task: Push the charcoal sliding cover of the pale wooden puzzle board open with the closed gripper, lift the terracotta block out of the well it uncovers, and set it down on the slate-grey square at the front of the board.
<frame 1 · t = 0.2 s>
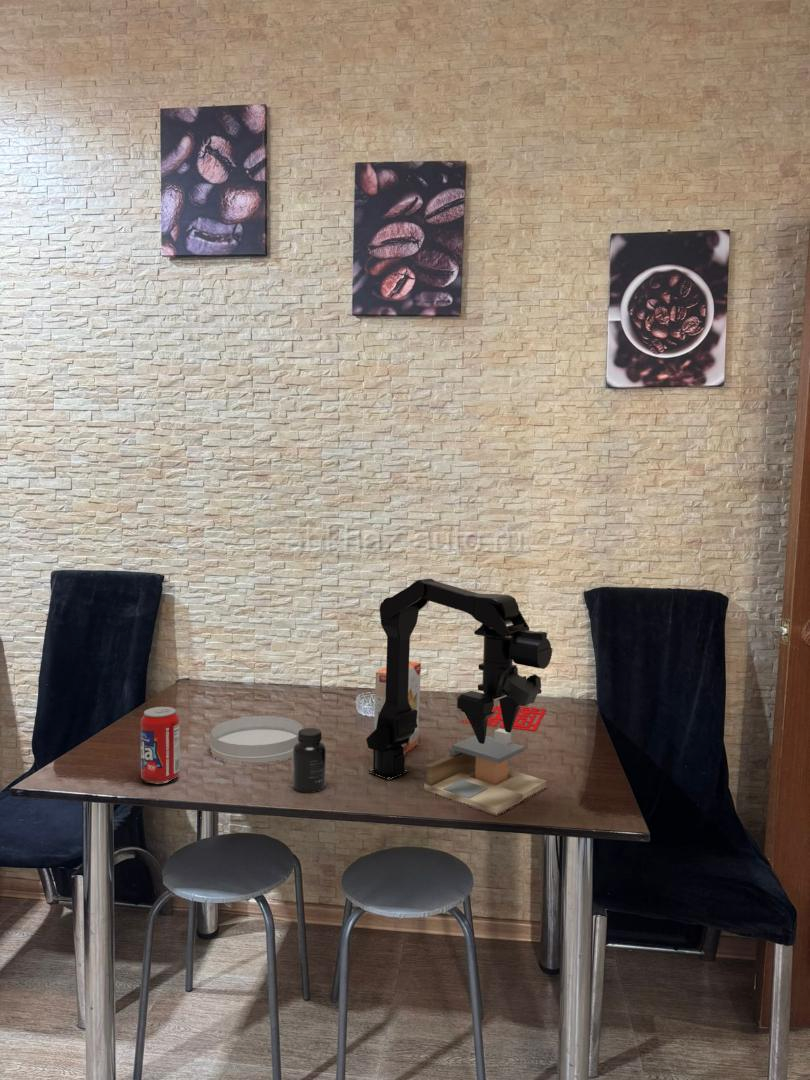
hand: (495, 737, 149), 14 cm above the table, tool pointing down, fingers open, 9 cm apart
dish: (257, 750, 181), on the table
cracker box: (397, 753, 180), on the table
maze puzzle: (504, 718, 210), on the table
puzzle board: (485, 789, 159), on the table
block: (491, 783, 162), resting in puzzle board
soda can: (160, 780, 161), on the table
sliding cover: (487, 744, 163), point 8 cm above the table, slide at 0.0 cm
supplement bottle: (309, 787, 159), on the table
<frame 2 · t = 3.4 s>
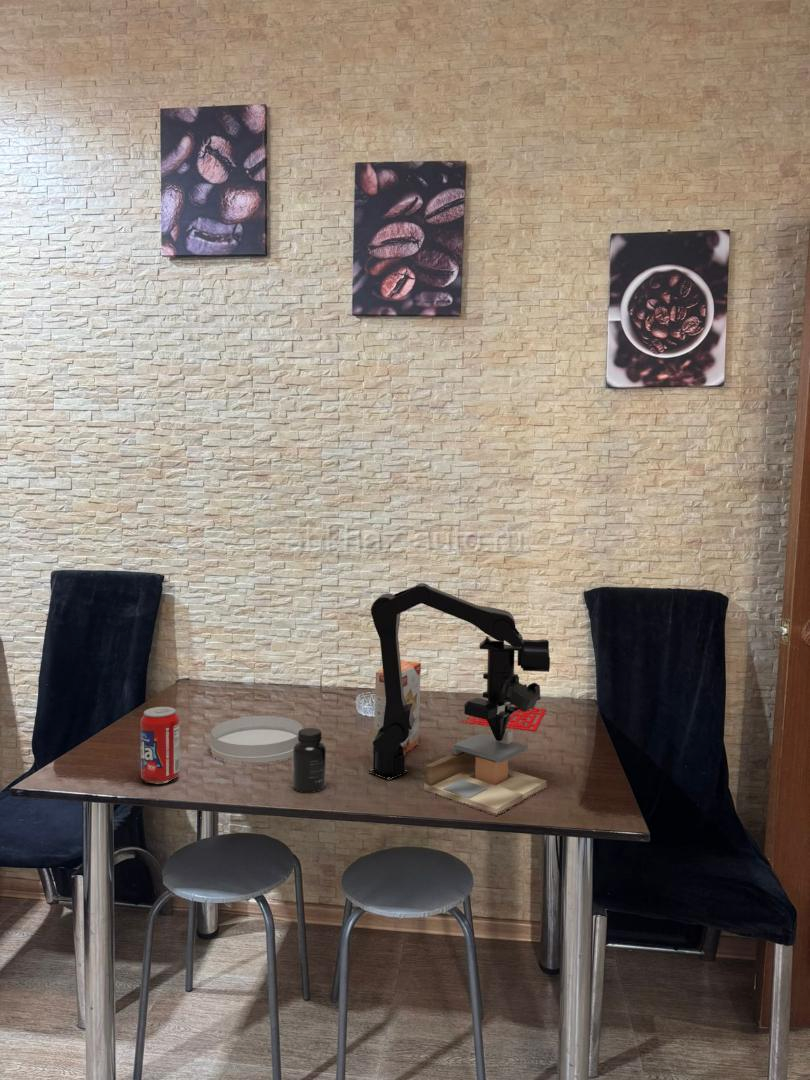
hand: (498, 740, 164), 9 cm above the table, tool pointing down, fingers closed
sliding cover: (488, 743, 163), point 8 cm above the table, slide at 0.6 cm, touching gripper
everything else where it was.
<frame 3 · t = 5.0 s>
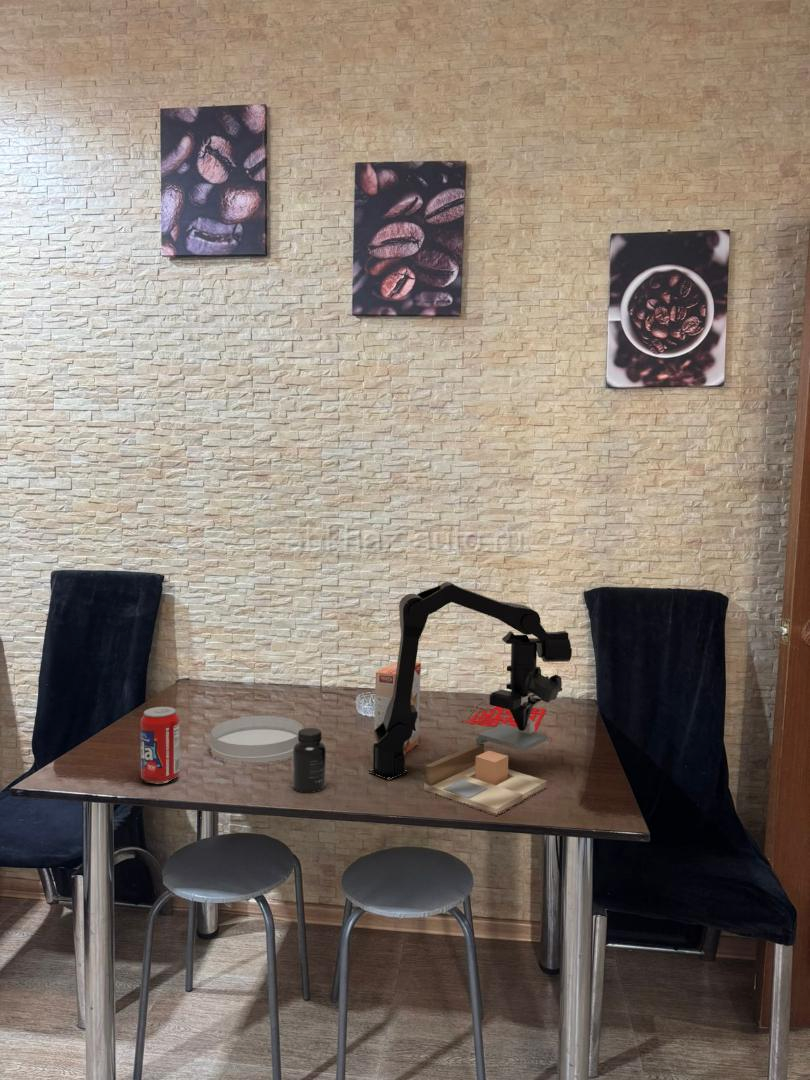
hand: (521, 730, 171), 9 cm above the table, tool pointing down, fingers closed
sliding cover: (512, 733, 170), point 8 cm above the table, slide at 9.8 cm, touching gripper
everything else where it was.
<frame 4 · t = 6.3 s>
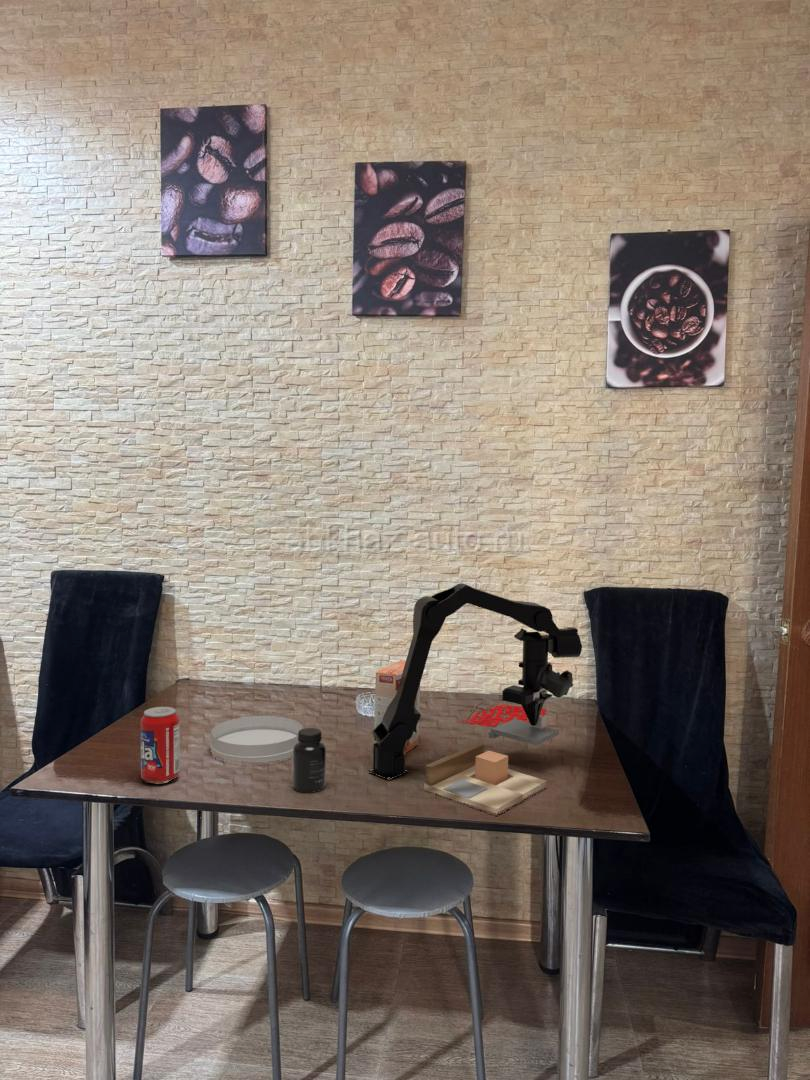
hand: (533, 725, 174), 9 cm above the table, tool pointing down, fingers closed
sliding cover: (524, 728, 174), point 8 cm above the table, slide at 14.8 cm, touching gripper
everything else where it was.
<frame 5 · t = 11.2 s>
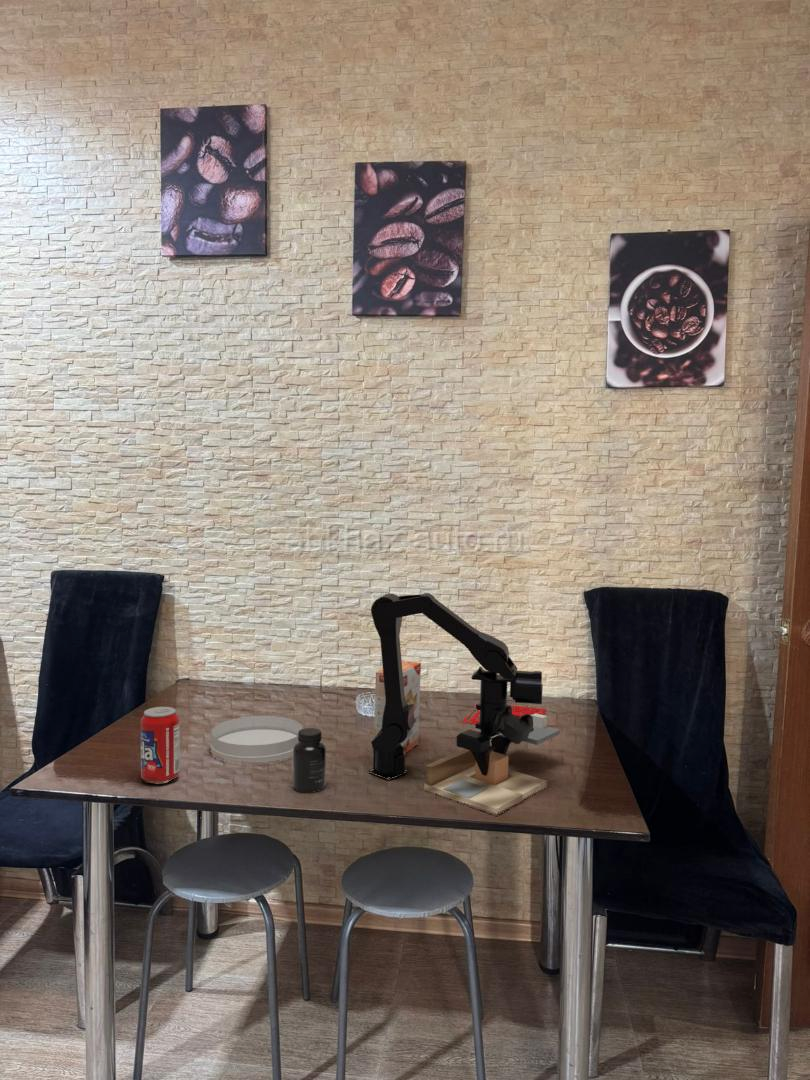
hand: (491, 771, 162), 3 cm above the table, tool pointing down, fingers closed on block, 5 cm apart
block: (491, 783, 162), resting in puzzle board, touching gripper
sliding cover: (524, 728, 174), point 8 cm above the table, slide at 15.2 cm
everything else where it was.
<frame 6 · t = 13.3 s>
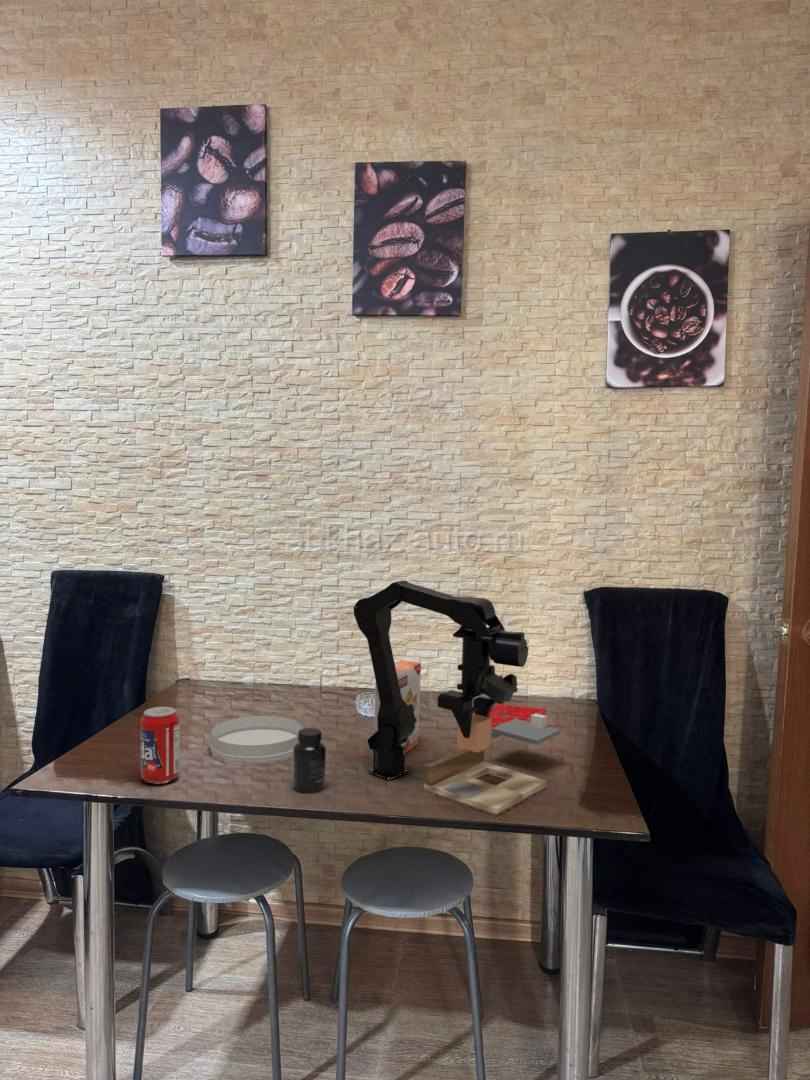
hand: (473, 734, 156), 12 cm above the table, tool pointing down, fingers closed on block, 5 cm apart
block: (473, 746, 156), point 10 cm above the table, touching gripper
everything else where it was.
when the fingers open (6 cm above the table, at t = 15.5 s): block drops 1 cm, resting on puzzle board.
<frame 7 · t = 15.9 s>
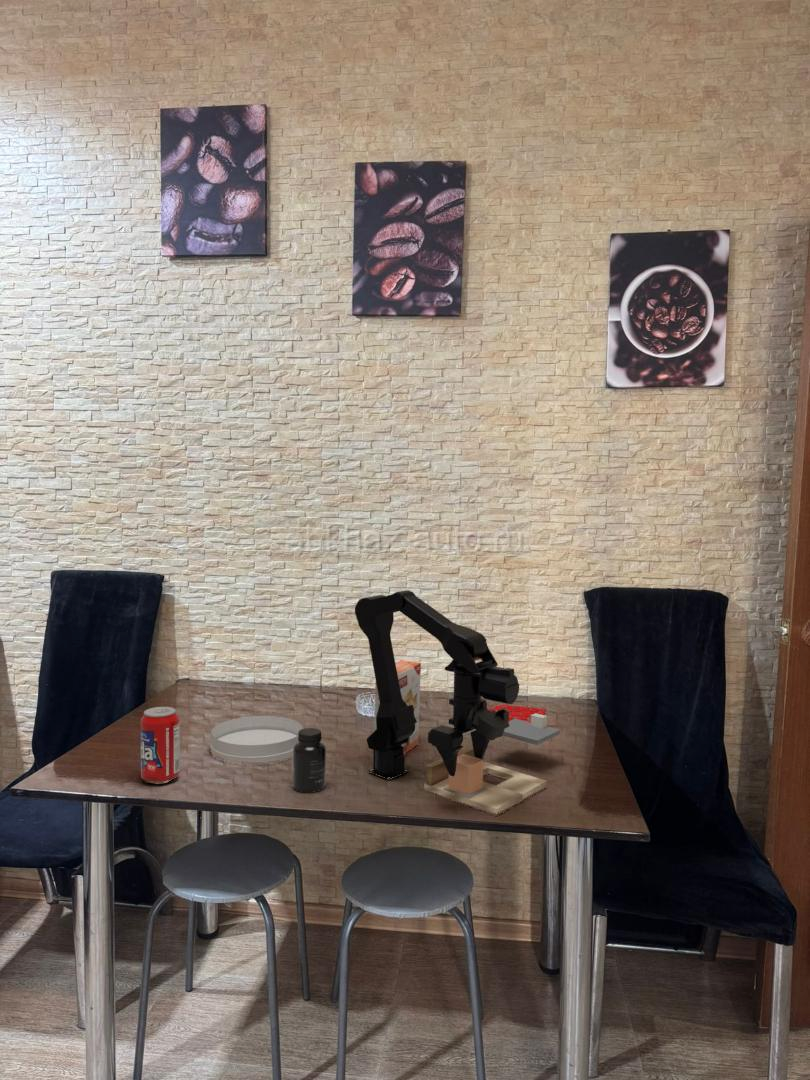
hand: (465, 769, 155), 6 cm above the table, tool pointing down, fingers open, 9 cm apart
block: (465, 788, 155), point 2 cm above the table, touching puzzle board
everything else where it was.
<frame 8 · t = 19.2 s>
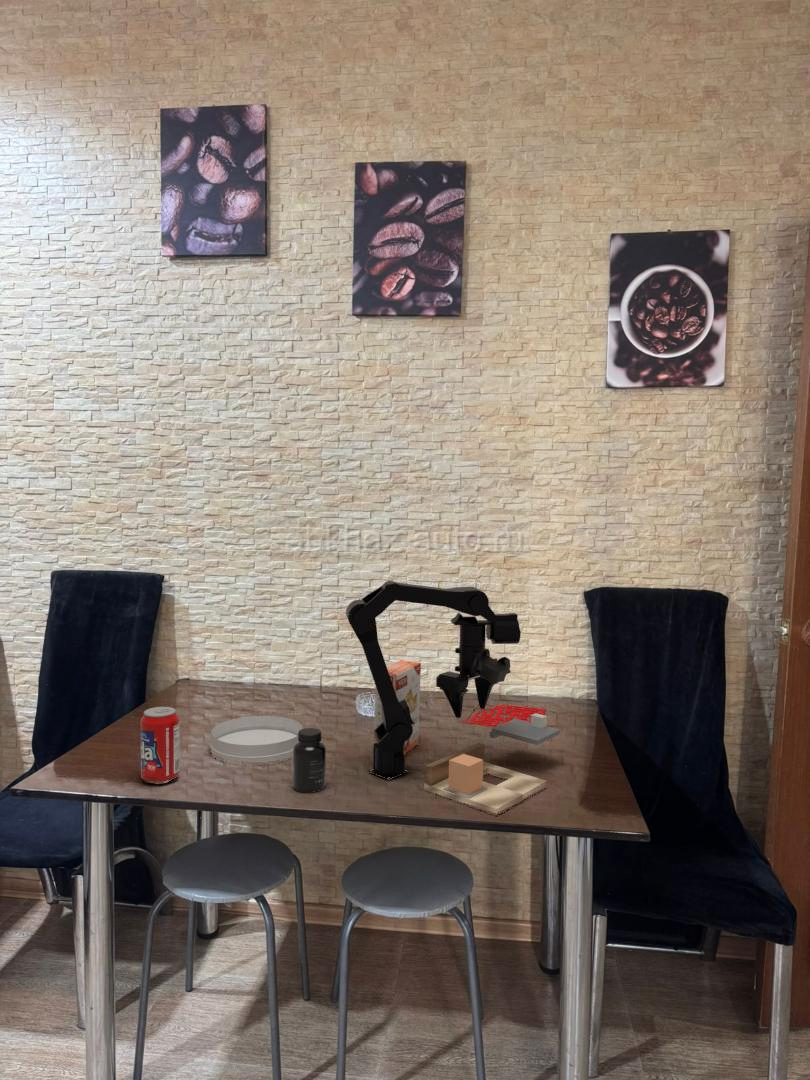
hand: (470, 713, 169), 13 cm above the table, tool pointing down, fingers open, 9 cm apart
nothing on the table moved.
at the end: sliding cover slide at 15.2 cm; block 0.0 cm from the target spot, point 1.7 cm above the table; block tilted 0° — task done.
